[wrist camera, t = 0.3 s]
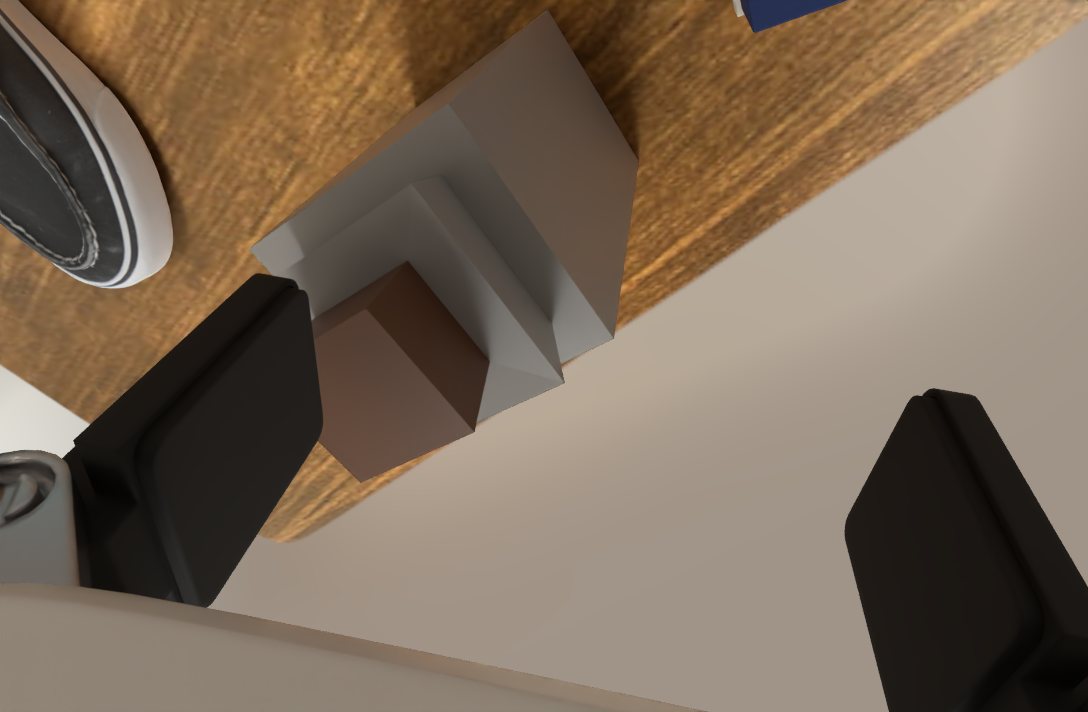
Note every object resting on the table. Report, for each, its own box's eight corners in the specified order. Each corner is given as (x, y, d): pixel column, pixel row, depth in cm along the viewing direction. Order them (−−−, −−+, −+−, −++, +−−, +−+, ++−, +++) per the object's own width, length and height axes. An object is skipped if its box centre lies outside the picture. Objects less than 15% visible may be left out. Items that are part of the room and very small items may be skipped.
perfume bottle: (509, 237, 31) (358, 553, 16) (415, 108, 28) (134, 347, 14) (638, 161, 28) (596, 462, 13) (547, 9, 25) (369, 177, 11)
